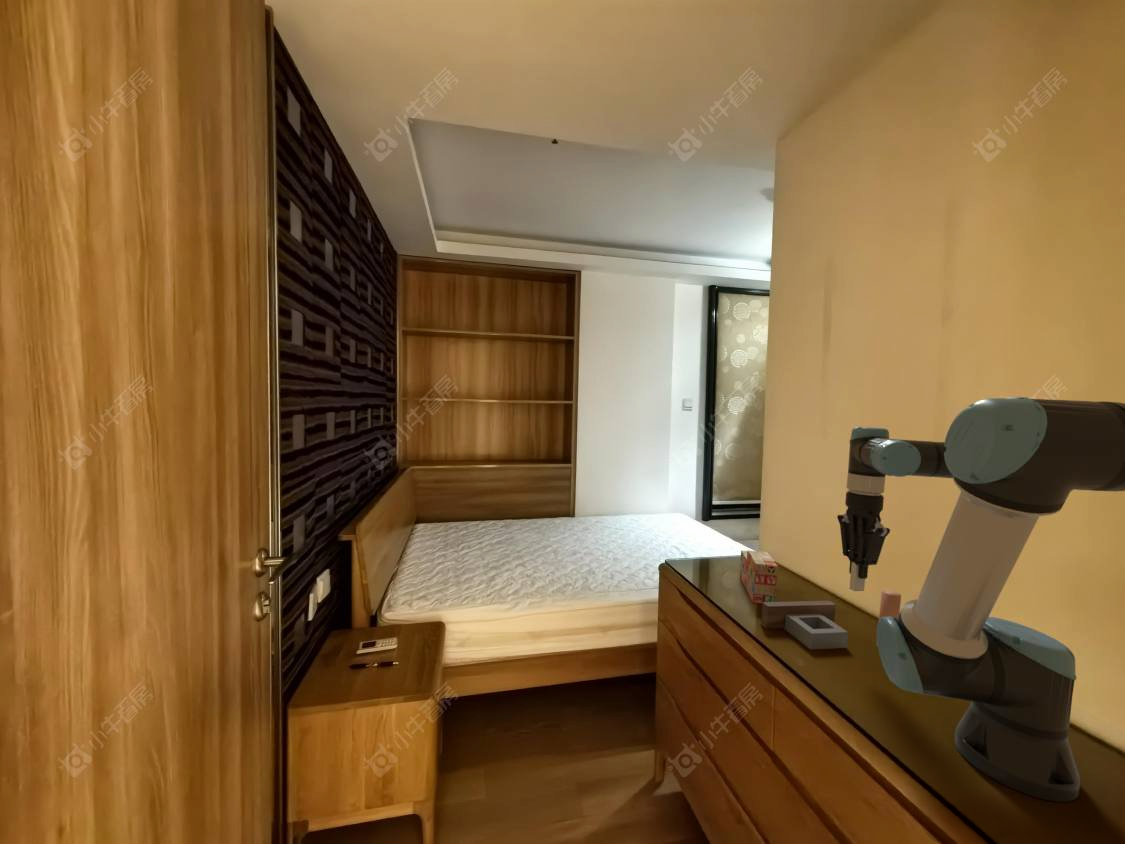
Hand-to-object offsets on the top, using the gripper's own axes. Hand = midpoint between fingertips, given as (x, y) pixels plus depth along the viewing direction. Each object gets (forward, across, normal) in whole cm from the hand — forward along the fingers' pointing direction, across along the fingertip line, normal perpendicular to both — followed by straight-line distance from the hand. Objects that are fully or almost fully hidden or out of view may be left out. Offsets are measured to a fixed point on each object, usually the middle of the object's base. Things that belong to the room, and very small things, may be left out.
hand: (856, 589), depth 112 cm
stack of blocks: (+16, +37, +1) cm, 40 cm away
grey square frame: (+16, +8, +4) cm, 18 cm away
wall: (+16, +14, +4) cm, 22 cm away
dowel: (+16, +1, -11) cm, 19 cm away
